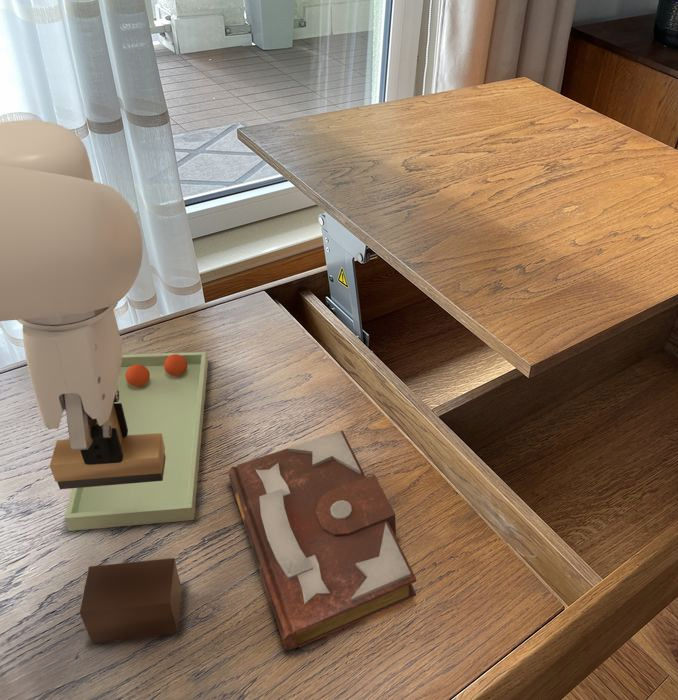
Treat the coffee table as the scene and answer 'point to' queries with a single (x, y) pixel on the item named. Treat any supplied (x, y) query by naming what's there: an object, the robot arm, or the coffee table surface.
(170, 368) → the orange-red sphere
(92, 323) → the robot arm
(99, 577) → the stand
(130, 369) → the orange ball
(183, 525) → the coffee table surface
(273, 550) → the book
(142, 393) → the tray
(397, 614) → the coffee table surface
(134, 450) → the wooden block
